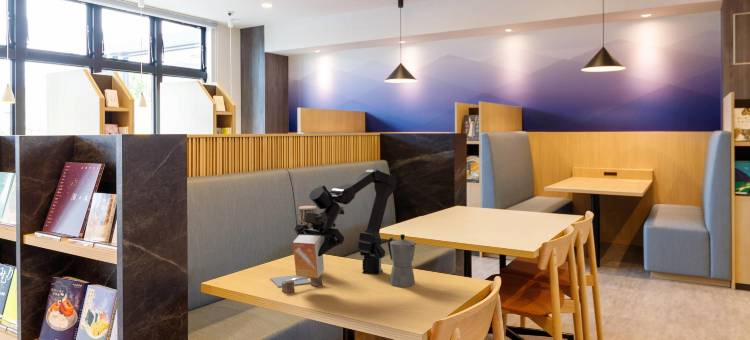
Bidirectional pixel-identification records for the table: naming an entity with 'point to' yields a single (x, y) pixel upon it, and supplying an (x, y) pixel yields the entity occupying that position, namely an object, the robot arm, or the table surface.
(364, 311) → the table surface
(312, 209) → the paper tube
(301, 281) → the mat
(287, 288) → the rod stand
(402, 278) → the coffeepot
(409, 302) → the table surface
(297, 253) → the small box
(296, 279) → the steel rod
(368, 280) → the table surface
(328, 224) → the robot arm
